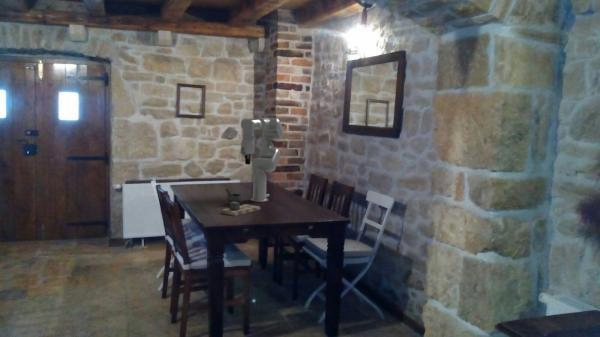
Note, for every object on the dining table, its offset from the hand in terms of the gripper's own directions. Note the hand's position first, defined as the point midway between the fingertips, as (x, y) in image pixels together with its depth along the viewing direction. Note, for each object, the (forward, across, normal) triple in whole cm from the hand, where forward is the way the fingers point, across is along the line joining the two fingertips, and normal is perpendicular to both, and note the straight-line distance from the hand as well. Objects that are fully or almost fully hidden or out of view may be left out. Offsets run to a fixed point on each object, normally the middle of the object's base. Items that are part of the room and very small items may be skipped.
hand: (247, 164), depth 331 cm
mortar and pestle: (+29, +3, -10) cm, 31 cm away
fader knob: (+27, +22, +8) cm, 36 cm away
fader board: (+29, +16, +8) cm, 34 cm away
